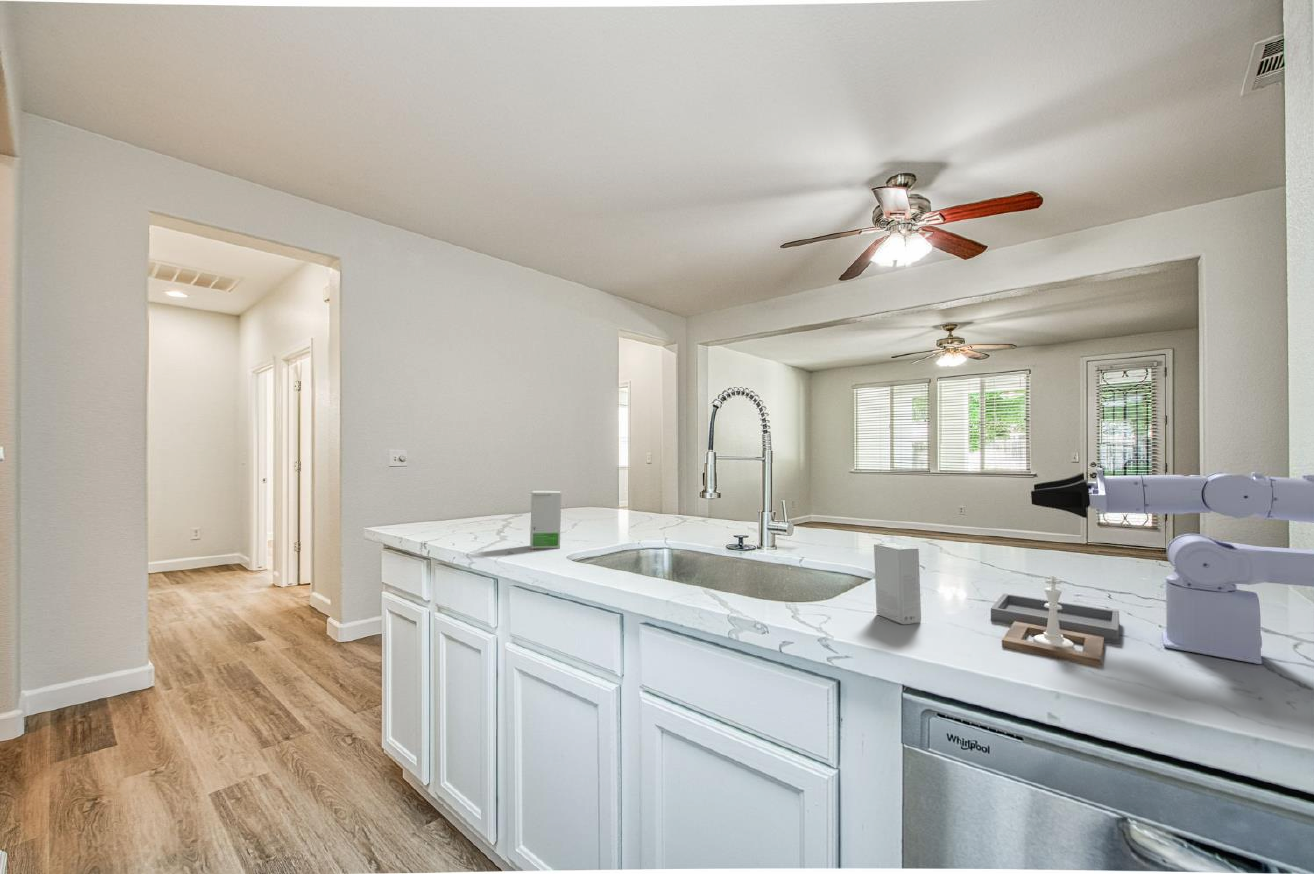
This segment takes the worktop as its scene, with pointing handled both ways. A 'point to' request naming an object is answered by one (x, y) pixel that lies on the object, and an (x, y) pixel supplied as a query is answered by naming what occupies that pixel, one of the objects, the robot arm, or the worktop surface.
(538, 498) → the skincare box
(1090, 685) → the worktop surface
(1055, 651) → the walnut holder
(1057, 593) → the chess piece
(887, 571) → the skincare box
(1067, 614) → the parts tray
